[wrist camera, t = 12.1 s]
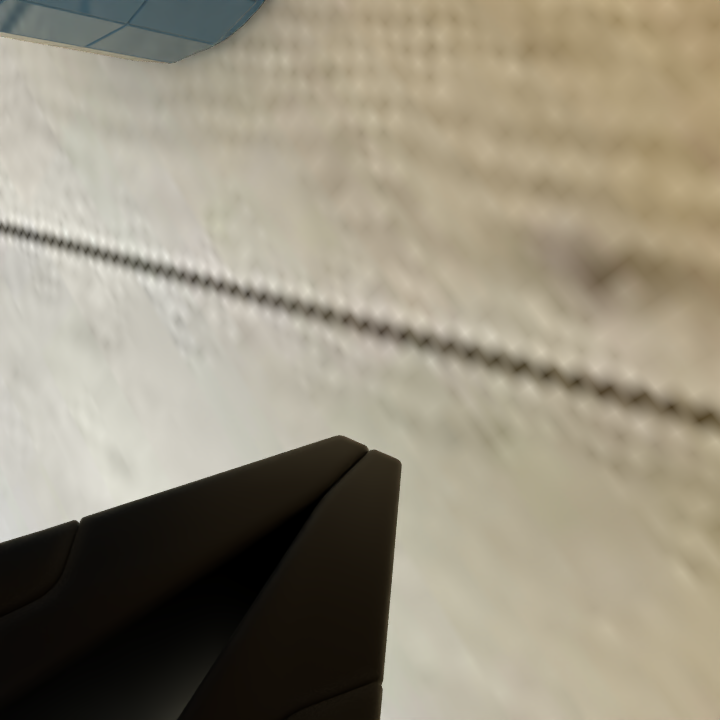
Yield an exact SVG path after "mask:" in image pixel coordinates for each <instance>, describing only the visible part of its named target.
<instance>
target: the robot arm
mask: <svg viewBox="0 0 720 720" xmlns="http://www.w3.org/2000/svg"><path fill="white" fill-rule="evenodd" d="M401 467H402V465H401V462H400V461H399V460H398V459H396V458H393V457H391V456H389V455H386V454H384V453H382V452H379V451H377V450H370V451H369V449H368V448H367V446H365V445H363V444H361V443H359V442H356V441H354V440H352V439H349V438H347V437H345V436H341V435H338V436H334V437H331V438H328V439H324V440H321V441H318V442H315V443H312V444H309V445H306V446H303V447H300V448H297V449H294V450H290V451H287V452H284V453H281V454H278V455H275V456H272V457H269V458H266V459H263V460H259V461H256V462H253V463H250V464H247V465H244V466H241V467H238V468H235V469H232V470H228V471H225V472H222V473H219V474H216V475H213V476H210V477H207V478H204V479H201V480H197V481H194V482H191V483H188V484H185V485H182V486H179V487H176V488H173V489H170V490H166V491H163V492H160V493H157V494H154V495H151V496H148V497H145V498H142V499H139V500H136V501H132V502H129V503H126V504H123V505H120V506H117V507H114V508H111V509H108V510H105V511H101V512H98V513H95V514H92V515H89V516H86V517H83V518H82V519H81V521H80V523H79V522H78V521H76V520H73V521H70V522H67V523H63V524H60V525H57V526H54V527H51V528H48V529H45V530H42V531H39V532H35V533H32V534H29V535H25V536H22V537H19V538H15V539H12V540H9V541H5V542H2V543H0V720H380V714H381V703H382V691H383V689H382V686H381V685H382V682H383V675H384V664H385V652H386V641H387V629H388V618H389V606H390V595H391V583H392V572H393V560H394V548H395V537H396V525H397V514H398V502H399V491H400V479H401Z"/></svg>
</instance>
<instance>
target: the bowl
mask: <svg viewBox="0 0 720 720" xmlns="http://www.w3.org/2000/svg"><path fill="white" fill-rule="evenodd" d="M264 1H265V0H0V37H4V38H9V39H15V40H20V41H26V42H32V43H37V44H43V45H49V46H54V47H60V48H65V49H71V50H77V51H82V52H88V53H93V54H99V55H105V56H110V57H116V58H121V59H127V60H132V61H144V62H157V63H175V62H177V61H179V60H182V59H184V58H186V57H188V56H191V55H193V54H195V53H197V52H200V51H203V50H206V49H209V48H211V47H213V46H214V45H216V44H218V43H220V42H222V41H223V40H225V39H227V38H228V37H229V36H230V35H232V34H233V33H234V32H236V31H237V30H238V29H239V28H241V27H242V26H243V25H244V24H245V23H246V22H247V21H248V20H249V19H250V18H251V17H252V16H253V14H254V13H255V12H256V11H257V10H258V9H259V8H260V7H261V5H262V4H263V3H264Z"/></svg>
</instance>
